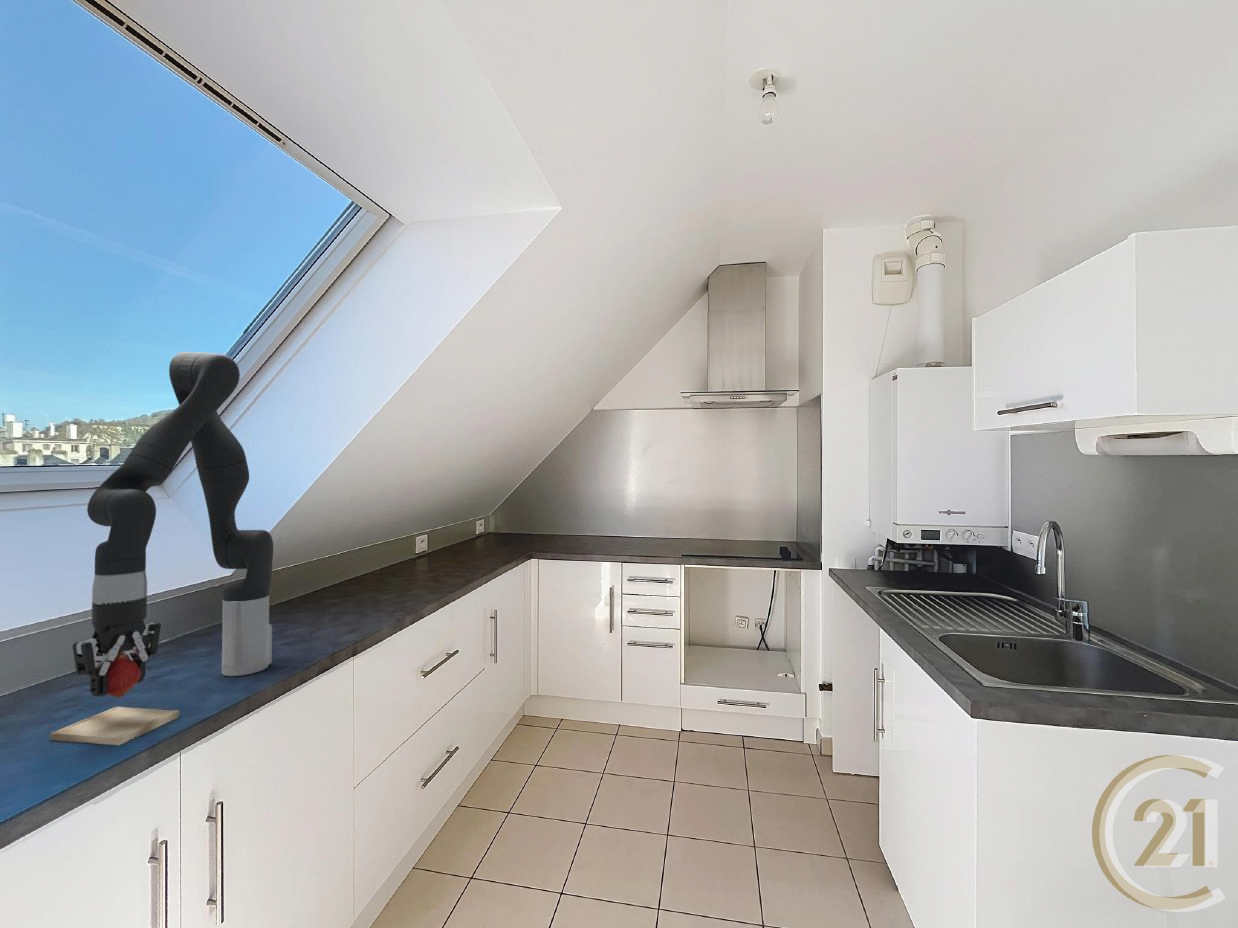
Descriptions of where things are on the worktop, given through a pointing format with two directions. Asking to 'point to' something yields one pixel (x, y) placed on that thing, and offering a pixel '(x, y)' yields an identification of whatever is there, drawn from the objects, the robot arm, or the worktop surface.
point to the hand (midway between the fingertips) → (118, 688)
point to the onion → (121, 675)
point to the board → (115, 725)
